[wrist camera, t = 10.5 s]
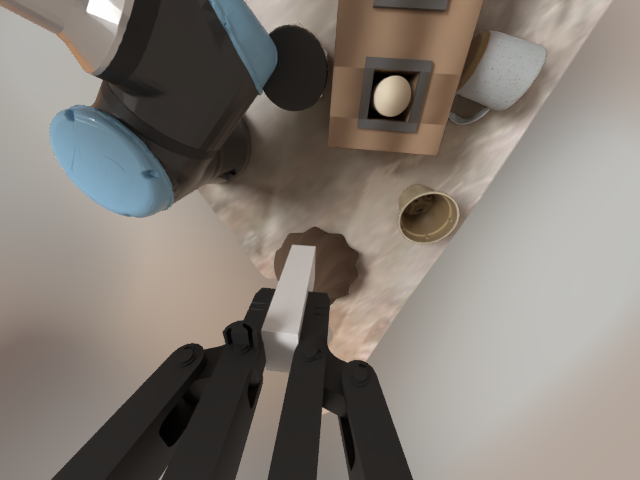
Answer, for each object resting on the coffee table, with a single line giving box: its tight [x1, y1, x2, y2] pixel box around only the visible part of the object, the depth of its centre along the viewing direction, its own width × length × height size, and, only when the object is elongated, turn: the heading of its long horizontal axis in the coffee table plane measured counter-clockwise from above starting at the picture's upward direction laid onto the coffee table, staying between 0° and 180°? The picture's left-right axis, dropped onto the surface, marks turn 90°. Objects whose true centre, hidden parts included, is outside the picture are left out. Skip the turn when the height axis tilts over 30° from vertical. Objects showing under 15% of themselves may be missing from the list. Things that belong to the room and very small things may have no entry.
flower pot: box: [398, 185, 460, 244], centre depth 42 cm, size 9×9×9 cm
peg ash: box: [369, 76, 411, 117], centre depth 32 cm, size 4×4×11 cm
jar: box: [262, 22, 328, 111], centre depth 32 cm, size 9×8×12 cm
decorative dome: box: [274, 227, 358, 305], centre depth 52 cm, size 19×20×10 cm
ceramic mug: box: [448, 30, 547, 125], centre depth 33 cm, size 11×8×8 cm
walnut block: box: [328, 0, 484, 155], centre depth 30 cm, size 14×23×13 cm, turn 176°
